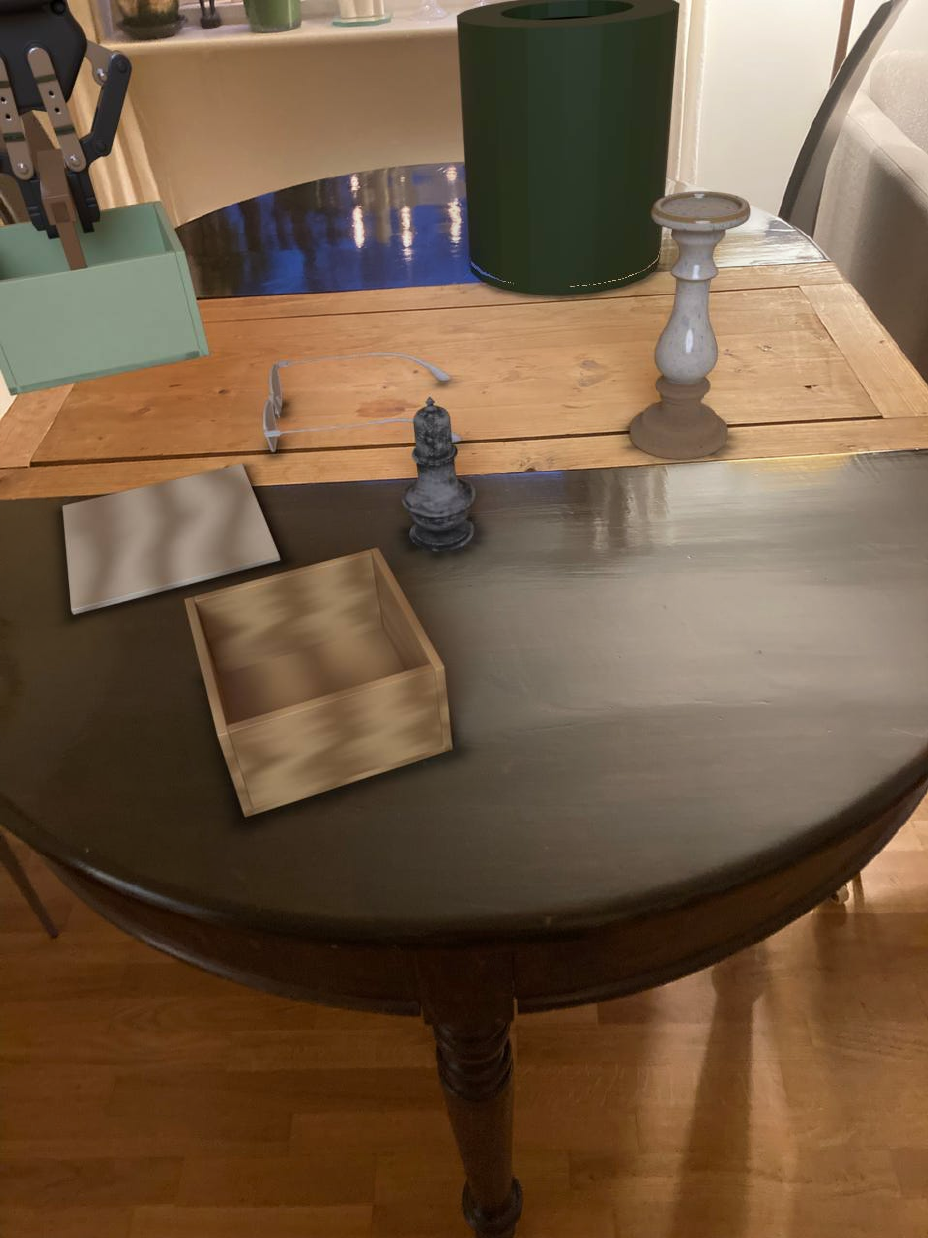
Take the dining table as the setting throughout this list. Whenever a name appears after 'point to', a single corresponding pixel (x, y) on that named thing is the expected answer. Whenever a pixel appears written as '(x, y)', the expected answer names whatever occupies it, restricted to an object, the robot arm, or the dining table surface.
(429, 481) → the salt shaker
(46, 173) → the top basket
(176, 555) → the placemat
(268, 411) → the eyeglasses
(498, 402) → the dining table surface
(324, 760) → the brown wooden open box
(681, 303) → the candle holder
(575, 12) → the flower pot
